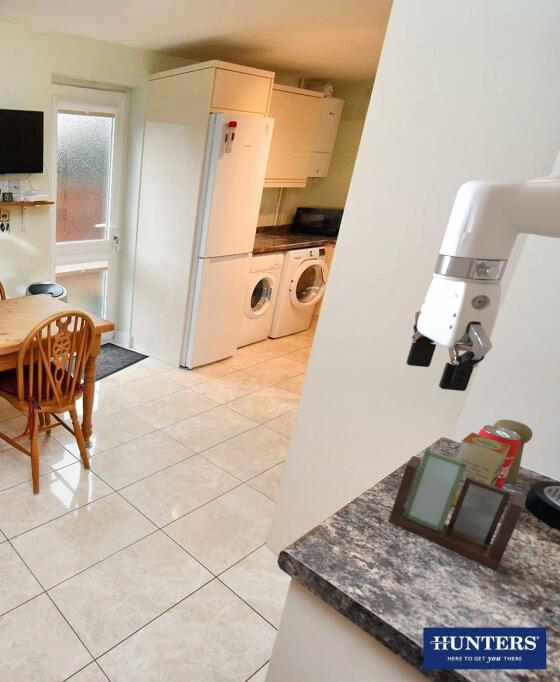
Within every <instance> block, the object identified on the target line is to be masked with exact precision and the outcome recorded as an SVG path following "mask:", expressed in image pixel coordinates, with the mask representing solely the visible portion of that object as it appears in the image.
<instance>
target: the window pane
mask: <svg viewBox="0 0 560 682" xmlns="http://www.w3.org/2000/svg"><path fill="white" fill-rule="evenodd" d="M421 459H422V460H421V463H420V466H419V469H418V472H417V475H416V478H415V481H414V484H413V487H412V490H411V493H410V496H409V499H408V502H407V505H406V509H405V512H404V515H403V516H405V517H407V518H409V519H412V520H414V521H416V522H419V523H421V524H423V525H425V526H428V527H430V528H432V529H435V530H437V531H439V532H442V530H443V527H444V524H445V523H446V522H447V519H448V517H449V513H450V511H451V508H452V505H453V504H452V503H453V500H454V497H455V495H456V492H457V489H458V487H459V484H460V481H461V479H462V476H463V473H464V471H465V468H466V465H467V463H465V462H462V461H460V460H457V459H456V458H454V457H451V456H449V455H448V456H447V455H445V454H441V453H438V452H436V451H433V450H430V449H428V448H425V450H424V452H423V456H422V458H421Z"/></svg>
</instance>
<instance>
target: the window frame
mask: <svg viewBox="0 0 560 682" xmlns="http://www.w3.org/2000/svg"><path fill="white" fill-rule="evenodd" d="M421 461H422V458H421V457H418V456H415V455H412V456H411V457H410V459H409V461H408V462H407V463H406V465H405V469H404V472H403V475H402V478H401V481H400V483H399V487H398V490H397V493H396V496H395V499H394V503H393V505H392V509H391V512H390V515H389V518H388V523H391V524H392V525H395V526H398V527H400V528H402V529H404V530H406V531H408V532H410V533H413V534H415V535H417V536H419V537H421V538H424V539H426V540H428V541H430V542H433V543H435V544H437V545H439V546H441V547H444V548H446V549H448V550H451V551H452V552H455V553H456V554H459V555H460V556H463V557H466V558H468V559H470V560H471V561H474V562H477V563H478V564H481V565H483V566H486V567H488V568H490V569H492V570H494V571H497V570H498V568H499V566H500V563H501V561H502V559H503V556H504V554H505V552H506V549H507V548H508V545H509V543H510V541H511V539H512V536H513V533H514V531H515V529H516V527H517V524H518V522H519V520H520V518H521V515H522V513H523V511H524V508H525V504H526V498H527V495H525V494H523V493H520V492H517V491H514V492H513V494H512V492H511V491H508V490H505V489H504V488H502V489H500V488H498V487H495V486H492V485H489V484H486V483H484V482H481V481H478V480H475V479H472V478H470V477H466V479H465V482H464V485H463V487H462V490H461V493H460V495H459V498H458V501H457V503H456V506H455V505H454V509H453V512H452V514H451V517H450V519H449V522H448V524H444V527H443V530H442V532H439V531H437V530H435V529H432V528H430V527H428V526H425V525H423V524H421V523H419V522H416V521H414V520H412V519H409V518H407V517H405V516H403V515H404V512H405V509H406V506H407V503H408V500H409V497H410V494H411V491H412V488H413V485H414V482H415V479H416V476H417V473H418V470H419V467H420V464H421ZM511 494H512V496H511ZM510 497H511V499H510ZM509 500H510V501H509ZM508 501H509V504H508ZM507 504H508V505H507ZM506 507H507V508H506ZM505 508H506V510H505ZM504 511H505V513H504ZM503 513H504V516H503ZM502 516H503V518H502ZM501 518H502V520H501ZM500 521H501V522H500ZM499 523H500V525H499ZM498 526H499V528H498V530H497V527H498ZM496 530H497V532H496ZM495 533H496V535H495ZM494 535H495V537H494ZM493 537H494V539H493ZM492 539H493V541H492ZM491 542H492V543H491Z"/></svg>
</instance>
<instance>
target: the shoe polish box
mask: <svg viewBox="0 0 560 682" xmlns="http://www.w3.org/2000/svg"><path fill="white" fill-rule="evenodd" d="M478 434H479V433H476V432H473V431H472V432H471V433H469V434H468V435H467V436H465V437H464V438H462V440H461V442H460V445H459V448H458V451H457V453H456V455H455V459H457V460H460V461H462V462H465V463H467V465H466V468H465V471H464V473H463V476H462V479H461V481H460V484H459V487H458V489H457V492H456V495H455V497H454V500H453V503H452V505H453V506H454V507H455V506H456V503H457V501H458V498H459V495H460V493H461V490H462V487H463V485H464V482H465V479H466V477H470V478H472V479H475V480H478V481H481V482H484V483H486V484H489V485H492V486H495V483H496V481H497V478H498V476H499V473H500V471H501V468H502V466H503V463H504V461H505V458H506V456H507V453H508V451H509V449H510V446H511V445H508V444H505V443H502V442H499V441H496V440H493V439H490V438H487V437H484V436H481V435H478Z"/></svg>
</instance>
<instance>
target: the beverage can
mask: <svg viewBox="0 0 560 682" xmlns="http://www.w3.org/2000/svg"><path fill="white" fill-rule="evenodd" d="M477 434H478V435H481V436H484V437H487V438H490V439H493V440H496V441H499V442H502V443H505V444H508V445H511V446H510V449H509V451H508V453H507V456H506V458H505V461H504V463H503V466H502V468H501V471H500V473H499V476H498V478H497V481H496V483H495V487H498V488H500V489H503V487H504V484H505V483H506V482H505V480H506V477H507V475H508V472H509V470H510V467H511V465H512V463H513V460H514V458H515V455H516V453H517V451H518V448H519V446H520V443H521V442H520V436H519V435H518V434H517V433H515V432H513V431H511V430H508V429H506V428H502V427H498V426H493V425H491V424H488V425H487V424H486V425H484V426H483V427H482V428H480V430H479V432H478V433H477Z"/></svg>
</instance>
